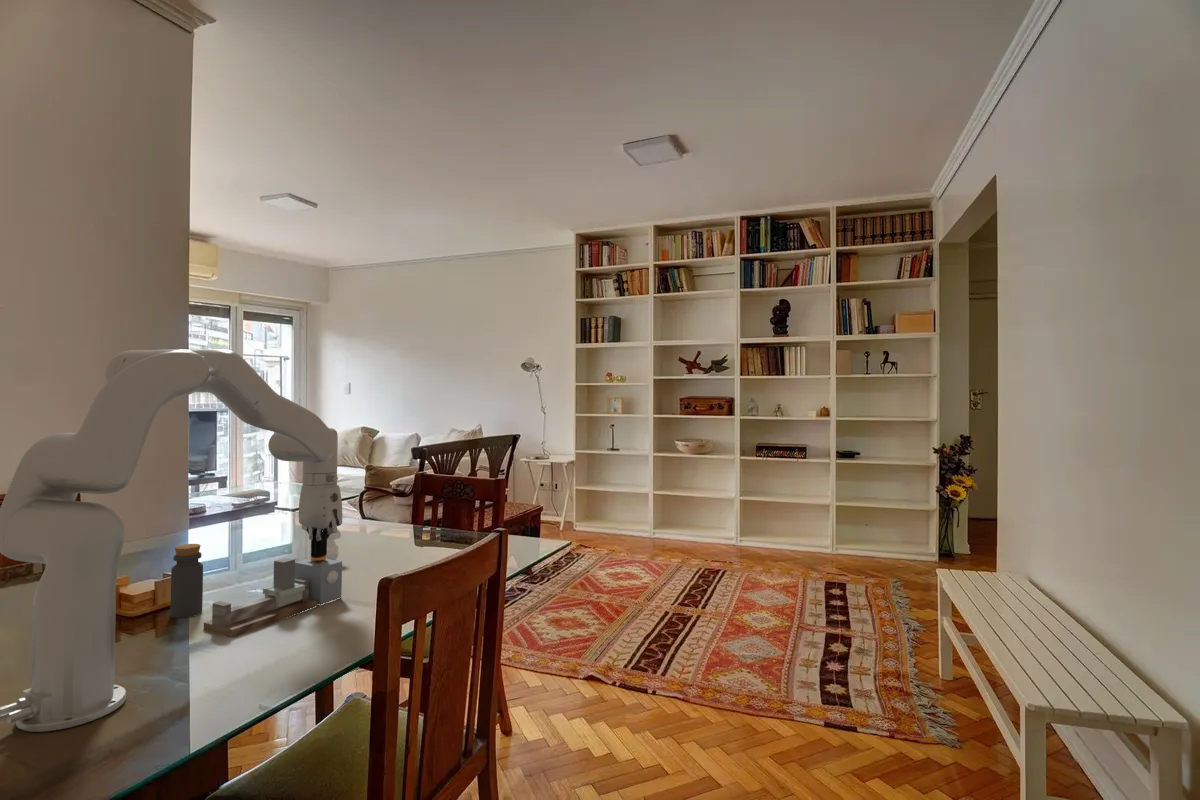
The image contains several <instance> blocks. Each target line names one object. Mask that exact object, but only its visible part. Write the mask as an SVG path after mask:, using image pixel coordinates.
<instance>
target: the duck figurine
mask: <svg viewBox="0 0 1200 800" xmlns="http://www.w3.org/2000/svg"><path fill="white" fill-rule="evenodd" d="M341 536H342V533H341V532H340V530H339V528H337V533H333V534H330V535H329V538H328V539H327V554H326V559H331V560H338V557H339V546H338V544H336V541H335V540H337V539H338V540H339V539H340V538H341Z"/></svg>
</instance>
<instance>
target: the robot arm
mask: <svg viewBox="0 0 1200 800" xmlns="http://www.w3.org/2000/svg"><path fill="white" fill-rule="evenodd" d="M105 379H106V383H105V384H104V385H103V386H102V387H101V389H99V391H98V392H97V393H96V395H95V397H94V399H92V403H91V405H90V407H89V409H88V411H87V413H86V416H85V417H84V420H83V421H82V424H81V426H80V428H79V429H78V431H77V432H58V433H53V434H50V435H47V436H44V437H42V438H40V439H39V440H37V441H36V442H35V443H33V444H32V445H31V446H30V447H29V448H28V449H27V451H25V453H24V454H23V456H22V458H21V459H20V461H19V463H18V465H17V467H16V469H15V472H14V474H13V477H12V479H11V482H10V484H9V486H8V489H7V491H6V494H5V495H4V499H3V501H2V503H1V506H0V554H1V555H3V556H4V557H6V558H7V559H10V560H13V561H18V562H26V563H34V564H35V563H36V564H44V565H45V567H44V568H45V569H44V571H43V574H42V575H41V578H40V579H39V582H38V583H37V586H36V588H35V591H34V593H33V601H32V642H31V643H32V644H31V651H32V652H31V659H32V660H31V687H30V688H27V689H24V690H23V689H22V696H21V697H19V698H16V699H15V700H14V702H12V703H9V704H5V705H1V706H0V722H2V721H4V720H6V722H7V723H8V724H12V723H14V722H15V723H16V727H17V728H18V729H20V730H21V731H24V732H32V733H33V732H34V733H35V732H37V733H41V732H42V733H43V732H51V731H58V730H64V729H70V728H74V727H78V726H80V725H83V724H87V723H89V722H93V721H95V720H97V719H100V718H102V717H104V716H106V715H108V714H111V713H112V712H114V711H115V710H117V709H118V708H120V707H121V706H122V705H123V704H124V703H125V701H126V699H127V689H126V688H125V687H124V686H121V685H118V684H115V659H116V649H115V648H116V615H117V611H116V608H117V604H116V603H117V602H116V600H117V597H116V596H117V594H116V593H117V580H118V579H117V578H118V576H117V575H118V571H119V569H118V568H119V563H120V560H121V559H120V558H121V554H122V551H123V550H122V549H123V547H124V542H125V538H126V526H125V522H124V519H123V518H122V516H121V515H120V514H119V513H118V512H117V511H116V510H114V509H113V508H111V507H109V506H107V505H105V504H101V503H98V502H92V501H79V500H76V499H77V498H78V494H89V495H90V494H92V495H93V494H95V495H105V494H108V495H109V494H113V493H117V492H120V491H121V490H124V489H125V488H126V487H127V486H128V485H129V484H130V482H131V481H132V480H133V478H134V475H135V472H136V471H137V468H138V465H139V462H140V459H141V457H142V454H143V450H144V448H145V446H146V442H147V439H148V438H149V434H150V431H151V430H152V429H151V428H152V426H153V424H154V422H155V419H156V418H157V415H158V414H159V413H160V412H161V411H162V409H164V408H165V407H166V406H168V404H171V402H173V401H175V400H177V399H179V398H181V397H186V396H189V395H191V394H194V393H210V394H212V395H213V396H214V397H216V399H218V400H219V401H220V402H221V403H222V404H223V405H225V407H227V409H228V410H230V411H231V412H232V413H233V414H234V415H235V416H236V417H237V418H238V419H239V420H240V421H241V422H243V423H245V424H247V425H249V426H253V427H256V428H258V429H262V430H264V431H269V432H272V433H273V434H272V435H271V436H270V438H269V440H268V450H269V453H270V455H272V456H273V457H274V458H275V459H277V460H279V461H282V462H292V463H293V462H296V463H297V462H298V463H299V462H302V485H301V488H300V494H299V502H298V503H299V504H298V521H299V522H298V523H299V524H300V525H301V529H302V530H304V531H305V532H307V534H308V538H309V540H310V558H311V557H315V558H317V557H321V556H325V555H326V554H327V539H328V538H329V535H330V534H333V533H337V529H338V527H339V526H342V524H343V502H342V501H343V500H342V494H341V488H340V485H338V480H339V478H338V451H339V450H338V447H339V445H338V444H339V441H338V440H339V436H338V435H339V434H338V431H337V430H336V429H335V428H331V427H328V426H327V425H326V423H325V422H324V421H323V420H322V419H321V418H320V417H319V416H318V415H317V414H315V413H314V412H312V411H311V410H309V409H307V408H306V407H304V406H302V405H299V404H298V403H295V402H294V401H292V400H290V399H289V398H286V397H285V396H282V395H280V394H278V393H277V392H275V390H274V389H273V388H272V387H271V386H270V385H269V384H268V383H267V382H266V381H265V380H264V379H263V377H261V375H259V373H258V372H256V370H255V369H254V368H253V367H252V366H251V365H250V364H249V363H248V362H247V361H246V360H245V359H244V358H243V357H242V356H241V355H240V354H239V353H237V352H235V351H233V350H230V349H224V348H221V349H220V348H210V349H206V348H205V349H204V348H203V349H201V348H200V349H198V348H193V349H189V348H188V349H135V350H133V349H131V350H125V351H121V352H119V353H118V354H116V355H114V356H113V357H111V359H110V360H109V361H108V363H107V365H106V367H105Z"/></svg>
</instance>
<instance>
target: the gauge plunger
mask: <svg viewBox="0 0 1200 800" xmlns="http://www.w3.org/2000/svg"><path fill="white" fill-rule="evenodd" d="M310 558H311V562H313V564H321V563H324V561H325V560H326V555H325V556H321V557H317V558H315V557H311V556H310Z"/></svg>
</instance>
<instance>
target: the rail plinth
mask: <svg viewBox="0 0 1200 800" xmlns="http://www.w3.org/2000/svg"><path fill="white" fill-rule="evenodd" d="M295 583H297V584H302V585H305V590H304V591H303V597H302V599H301V600H298V601H295V602H292V603H289V604H286V605H283V606H280V607H277V606H276V597H275V596H269V597H265V596H264V597H262V598H259V599H256V600H253V601H249V602H246V603H243V604H240V605H237V606H233V607H232V603H229V602H225V601H221V600H219V601H215V602H212V611H211V612H212V614H211V620H207V621H204V622H203V630H204V631H206V632H209V633H210V632H211V633H215V634H218V635H222V636H225V637H228V638H235V637H238V636H240V635H243V634H245V633H249V632H252V631H254V630H257V629H260V628H263V627H266V626H268V625H272V624H274V623H277V622H279V621H283V620H285V618H286V619H288V618H287V617H289V618H291V617H293V616H292V615H294V614H297V613H300V612H302V611H305V610H307V609H310V608H313V607H315V606H317V601H314V600H310V599H309V580H305V579H300V578H297V579H295ZM300 614H301V613H300ZM297 615H298V614H297ZM290 616H291V617H290ZM294 616H295V615H294Z"/></svg>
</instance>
